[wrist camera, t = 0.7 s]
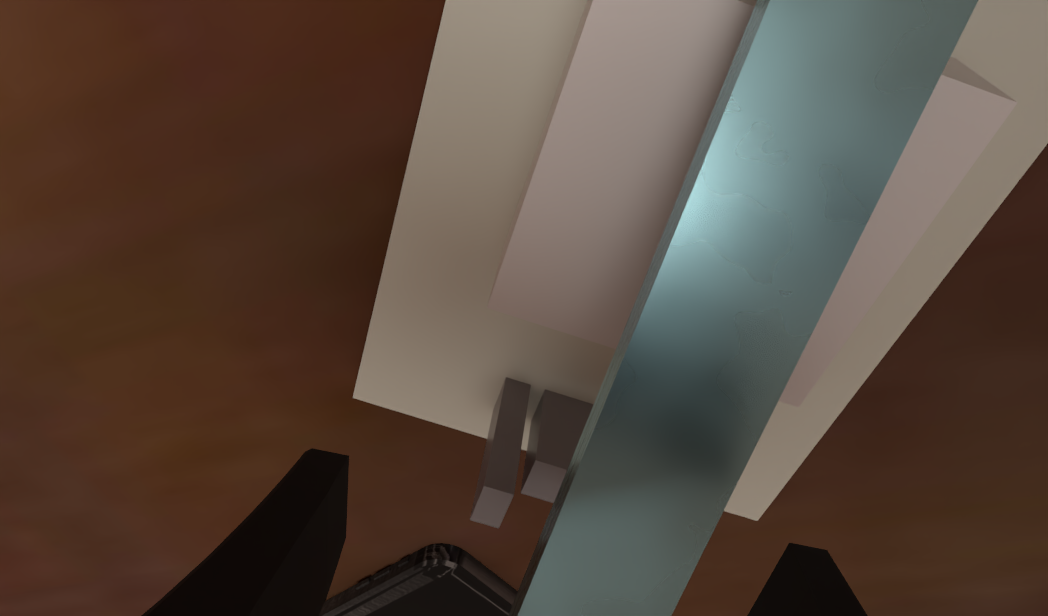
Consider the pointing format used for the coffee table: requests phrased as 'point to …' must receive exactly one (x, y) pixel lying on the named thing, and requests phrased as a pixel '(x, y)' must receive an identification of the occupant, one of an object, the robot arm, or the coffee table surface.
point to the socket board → (480, 185)
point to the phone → (427, 588)
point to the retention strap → (735, 292)
